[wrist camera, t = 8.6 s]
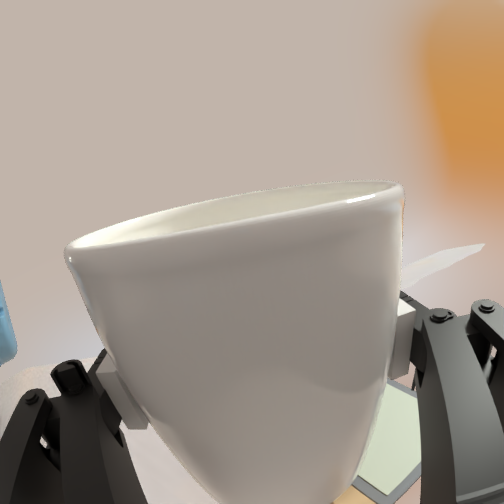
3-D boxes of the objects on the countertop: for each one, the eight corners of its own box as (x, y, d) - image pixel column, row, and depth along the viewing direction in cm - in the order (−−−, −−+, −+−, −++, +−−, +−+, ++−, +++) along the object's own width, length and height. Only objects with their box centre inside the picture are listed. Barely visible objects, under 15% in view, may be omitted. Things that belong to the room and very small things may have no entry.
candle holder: (367, 384, 15) (362, 177, 12) (386, 528, 5) (494, 196, 3) (215, 391, 17) (164, 208, 14) (157, 514, 8) (-2, 269, 5)
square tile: (293, 437, 23) (292, 433, 23) (378, 376, 29) (378, 372, 29) (385, 511, 12) (386, 508, 12) (464, 418, 18) (466, 413, 18)
